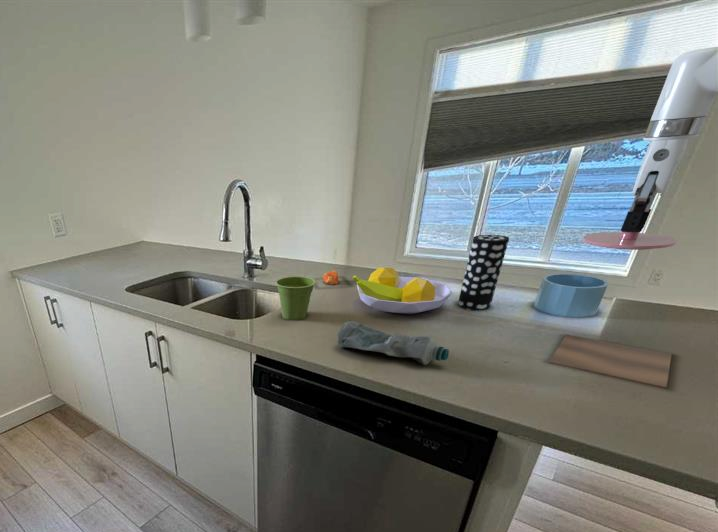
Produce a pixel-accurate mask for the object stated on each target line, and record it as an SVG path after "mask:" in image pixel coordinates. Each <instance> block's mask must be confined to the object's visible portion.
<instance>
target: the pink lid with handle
mask: <svg viewBox="0 0 718 532" xmlns="http://www.w3.org/2000/svg"><path fill="white" fill-rule="evenodd" d="M651 205H653V203H652V204H651ZM650 207H651V208H652V206H650ZM651 208H649V209H651ZM648 212H649V210H648ZM582 241H583V242H584V243H586V244H588V245H593V246H598V247H601V248H607V249H614V250H629V251H630V250H631V251H632V250H633V251H643V250H654V249H656V250H657V249H664V248H671V247H674V246H676V244H677V243H678V240H677V238H674V237H671V236H668V235H661V234H656V233H647V232H622V231H609V232H606V231H605V232H594V233H590V234H589V233H588V234H586V235H584V236H583V237H582Z"/></svg>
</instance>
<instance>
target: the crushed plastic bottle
mask: <svg viewBox="0 0 718 532" xmlns="http://www.w3.org/2000/svg"><path fill="white" fill-rule="evenodd" d="M337 345H338V347H339V348H340V349H345V348H351V349H357V350H361V351H369V352H370V351H371V352H377V353H382V354H385V355H387V356H389V357H396V358H412V359H413V360H414V361H416V362H418V363H419V364H421V365H423V366H427V365H428V364H429V363H430V362H431V361H432V360H435V361H447V359H448V358H449V354H450V349H448V348H445V347H444V346H438V345H437V342H436V340H435V339H434V338H433V337H431V336H410V335H406V334H403V333H399V332H398V333H397V332H396V333H394V334H389V333H386V332H383V331H380V330H377V329H374V328H372V327H369V326H367V325H365V324H362V323H359V322H357V321H355V320H347V321H346V322H344V323H343V325H342V327H341V328H340V330H338V332H337Z"/></svg>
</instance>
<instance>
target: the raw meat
mask: <svg viewBox="0 0 718 532" xmlns="http://www.w3.org/2000/svg"><path fill="white" fill-rule="evenodd" d="M322 281H323V282H324V283H325V284H328V285H331V286H335V285H338V284H339V275H338V271H337V270H332V271H329V272H326V273H324V274H323V276H322Z"/></svg>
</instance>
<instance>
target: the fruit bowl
mask: <svg viewBox="0 0 718 532" xmlns="http://www.w3.org/2000/svg"><path fill="white" fill-rule="evenodd" d="M352 279H353V280H354V281H355V283H356V288H357V292H358V295H359V298H360V300H361V302H363V303H364V304H366V305H367V306H368V307H370V308H373V309H375V310H377V311H380V312H386V313H393V314H402V315H415V314H419V313H422V312H426V311H431V310H435V309H439V308H440V307H441V306H442V305H443V304H444V303H445V302H446V301H447V300H448V299H449V298H450V296H452V294H453V293H454V292H453V291H452V290H451V289H450V287H449V286H448V285H447V284H446V283H442V282H440V281H435V280H431V279H427V278H424V277H418V276H415V277H414V276H413V277H410V276H400V275H399V272H398V271H397V270H395V268H394V267H385V266H380V267H378V268H377V269H376V270H374V271H373V272H371V273H370V275H369V277H368V279H362V278H359V277H358V276H357V275H353V276H352Z"/></svg>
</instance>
